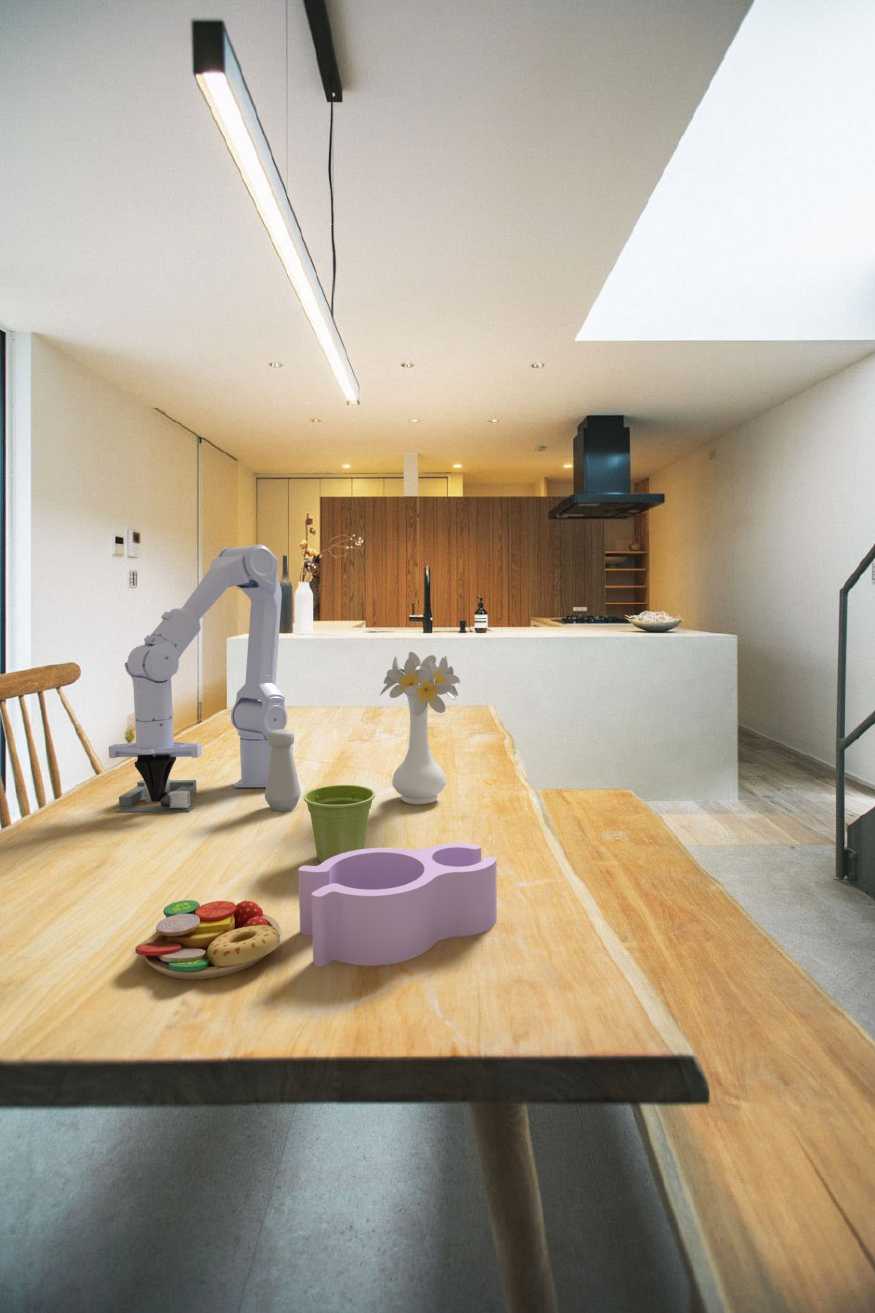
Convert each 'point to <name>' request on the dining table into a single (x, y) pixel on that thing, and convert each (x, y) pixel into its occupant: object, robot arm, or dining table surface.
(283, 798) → the salt shaker
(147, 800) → the white cylinder
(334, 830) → the plant pot
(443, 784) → the flower vase
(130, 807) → the housing
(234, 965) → the toy food set
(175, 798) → the latch pin
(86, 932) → the dining table surface
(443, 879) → the clip
